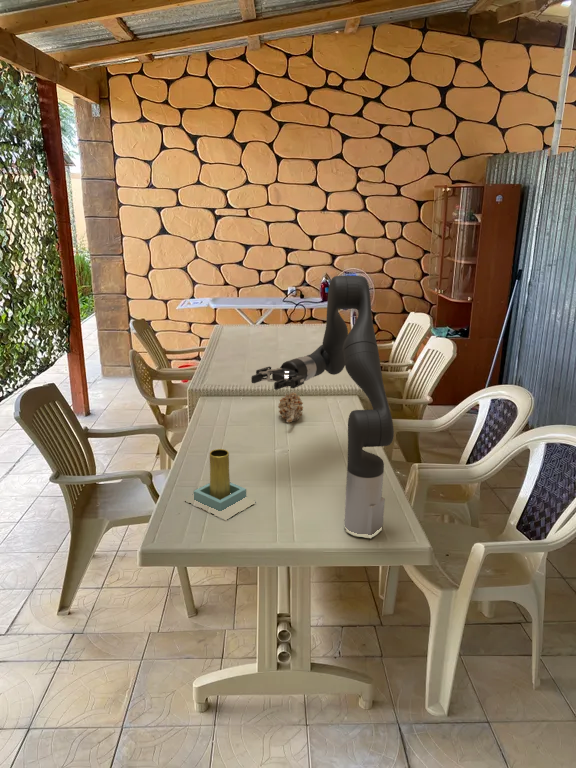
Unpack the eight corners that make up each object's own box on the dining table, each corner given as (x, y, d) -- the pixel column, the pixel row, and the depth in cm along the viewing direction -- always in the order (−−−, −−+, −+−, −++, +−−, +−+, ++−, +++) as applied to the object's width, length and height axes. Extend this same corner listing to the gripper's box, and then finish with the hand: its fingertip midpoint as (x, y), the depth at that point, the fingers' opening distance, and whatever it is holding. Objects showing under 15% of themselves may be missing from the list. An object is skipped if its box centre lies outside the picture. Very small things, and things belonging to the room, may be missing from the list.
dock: (255, 503, 173) (255, 491, 171) (225, 520, 164) (225, 507, 162) (215, 486, 182) (215, 474, 181) (185, 501, 173) (184, 488, 172)
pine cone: (277, 412, 241) (277, 388, 238) (301, 412, 241) (302, 388, 238) (279, 434, 220) (279, 408, 217) (306, 434, 220) (306, 408, 217)
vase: (204, 498, 173) (203, 452, 168) (221, 491, 177) (221, 446, 172) (218, 506, 169) (217, 459, 164) (235, 499, 173) (235, 453, 168)
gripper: (280, 354, 189) (244, 365, 177) (318, 363, 180) (283, 375, 168) (280, 377, 191) (245, 390, 179) (317, 387, 183) (282, 401, 171)
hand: (263, 383), depth 174 cm, fingers open, 8 cm apart
